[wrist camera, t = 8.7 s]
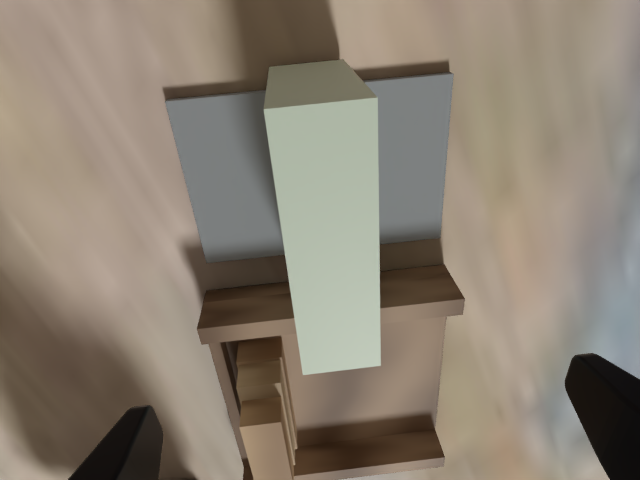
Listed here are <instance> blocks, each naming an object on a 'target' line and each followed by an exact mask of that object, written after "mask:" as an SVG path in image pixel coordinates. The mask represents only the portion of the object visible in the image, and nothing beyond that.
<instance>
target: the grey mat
mask: <svg viewBox="0 0 640 480" xmlns="http://www.w3.org/2000/svg"><path fill="white" fill-rule="evenodd" d="M363 82H364V83H365V84H366V85H367V86H368V87H369V88H370V89H371V91H372V92H373V93H374V94H375V95H376V96H377V97H378V165H379V244H388V243H398V242H407V241H416V240H425V239H434V238H440V234H441V222H442V209H443V197H444V185H445V172H446V160H447V147H448V135H449V123H450V110H451V98H452V85H453V73H451V72H447V73H437V74H426V75H416V76H406V77H395V78H385V79H374V80H364V81H363ZM265 94H266V90H260V91H249V92H239V93H228V94H218V95H207V96H197V97H187V98H176V99H167V100H166V101H165V103H166V107H167V111H168V115H169V119H170V123H171V127H172V131H173V134H174V138H175V142H176V146H177V150H178V154H179V158H180V162H181V166H182V169H183V173H184V177H185V181H186V185H187V189H188V193H189V197H190V201H191V205H192V208H193V212H194V216H195V220H196V224H197V228H198V232H199V236H200V240H201V243H202V247H203V251H204V255H205V259H206V263H213V262H222V261H231V260H241V259H250V258H259V257H268V256H278V255H285V251H284V244H283V237H282V231H281V224H280V217H279V210H278V204H277V197H276V190H275V183H274V177H273V170H272V163H271V156H270V149H269V143H268V136H267V129H266V122H265V116H264V102H265Z"/></svg>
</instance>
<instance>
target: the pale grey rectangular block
mask: <svg viewBox="0 0 640 480" xmlns="http://www.w3.org/2000/svg"><path fill="white" fill-rule="evenodd" d="M264 116H265V122H266V129H267V136H268V143H269V149H270V156H271V163H272V170H273V177H274V183H275V190H276V197H277V204H278V210H279V217H280V224H281V231H282V237H283V244H284V251H285V258H286V265H287V271H288V278H289V285H290V292H291V298H292V305H293V312H294V319H295V325H296V332H297V339H298V346H299V353H300V359H301V366H302V373H303V375H309V374H317V373H325V372H333V371H342V370H350V369H358V368H366V367H375V366H381V338H380V251H379V165H378V97H377V96H376V95H375V94H374V93H373V92H372V91H371V89H370V88H369V87H368V86H367V85H366V84H365V83H364V82H363V81H362V80H361V78H360V77H359V76H358V75H357V74H356V73H355V72H354V71H353V70H352V68H351V67H350V66H349V65H348V64H347V63H346V62H345V61H344V60H343V59H342V60H332V61H322V62H312V63H302V64H292V65H282V66H272V67H269V72H268V79H267V87H266V94H265V102H264Z"/></svg>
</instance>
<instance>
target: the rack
mask: <svg viewBox="0 0 640 480" xmlns="http://www.w3.org/2000/svg"><path fill="white" fill-rule="evenodd" d="M464 301H465V298H464V297H463V295H462V293H461V292H460V290H459V288H458V287H457V285H456V283H455V282H454V280H453V278H452V277H451V275H450V273H449V272H448V270H447V268H446V267H445V265H436V266H427V267H418V268H409V269H400V270H391V271H382V272H380V338H381V366H375V367H366V368H358V369H350V370H342V371H333V372H325V373H317V374H309V375H303V373H302V366H301V359H300V353H299V346H298V339H297V332H296V325H295V319H294V312H293V305H292V298H291V292H290V285H289V282H282V283H273V284H264V285H255V286H246V287H237V288H228V289H219V290H210V291H206V294H205V298H204V302H203V306H202V310H201V315H200V319H199V323H198V327H197V331H198V334H199V338H200V341H201V344H209V347H210V351H211V354H212V358H213V361H214V365H215V368H216V372H217V375H218V379H219V382H220V386H221V389H222V393H223V396H224V399H225V403H226V406H227V410H228V413H229V417H230V420H231V424H232V427H233V431H234V434H235V438H236V441H237V445H238V448H239V452H240V455H241V459H242V462H243V465H244V474H243V480H254V479H253V475H252V471H251V468H250V464H249V460H248V457H247V453H246V449H245V446H244V442H243V439H242V435H241V431H240V428H239V426H240V415H241V404H240V400H239V396H238V393H237V389H236V386H237V377H238V368H237V364H236V360H237V352H238V343H239V342H245V341H253V340H262V339H271V338H280V337H282V342H283V348H284V354H285V360H286V366H287V372H288V378H289V384H290V391H291V397H292V403H293V409H294V415H295V421H296V427H297V449H295V465H294V480H339V479H347V478H355V477H363V476H371V475H379V474H387V473H395V472H403V471H411V470H419V469H426V468H434V467H442V466H444V460H445V456H444V454H443V451H442V448H441V445H440V442H439V439H438V437H437V434H436V431H435V425H436V415H437V405H438V395H439V385H440V375H441V366H442V356H443V346H444V336H445V326H446V316H455V315H463V309H464Z"/></svg>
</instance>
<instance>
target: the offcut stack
mask: <svg viewBox="0 0 640 480" xmlns="http://www.w3.org/2000/svg"><path fill="white" fill-rule="evenodd" d="M236 364H237V368H238V377H237V386H236V389H237V393H238V396H239V400H240V404H241V415H240V426H239V428H240V431H241V435H242V439H243V442H244V446H245V449H246V453H247V457H248V460H249V464H250V468H251V471H252V475H253V479H254V480H294V465H295V449H297V427H296V421H295V415H294V409H293V403H292V397H291V391H290V384H289V378H288V372H287V366H286V360H285V354H284V348H283V342H282V337H280V338H271V339H262V340H253V341H245V342H239V343H238V352H237V360H236Z"/></svg>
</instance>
